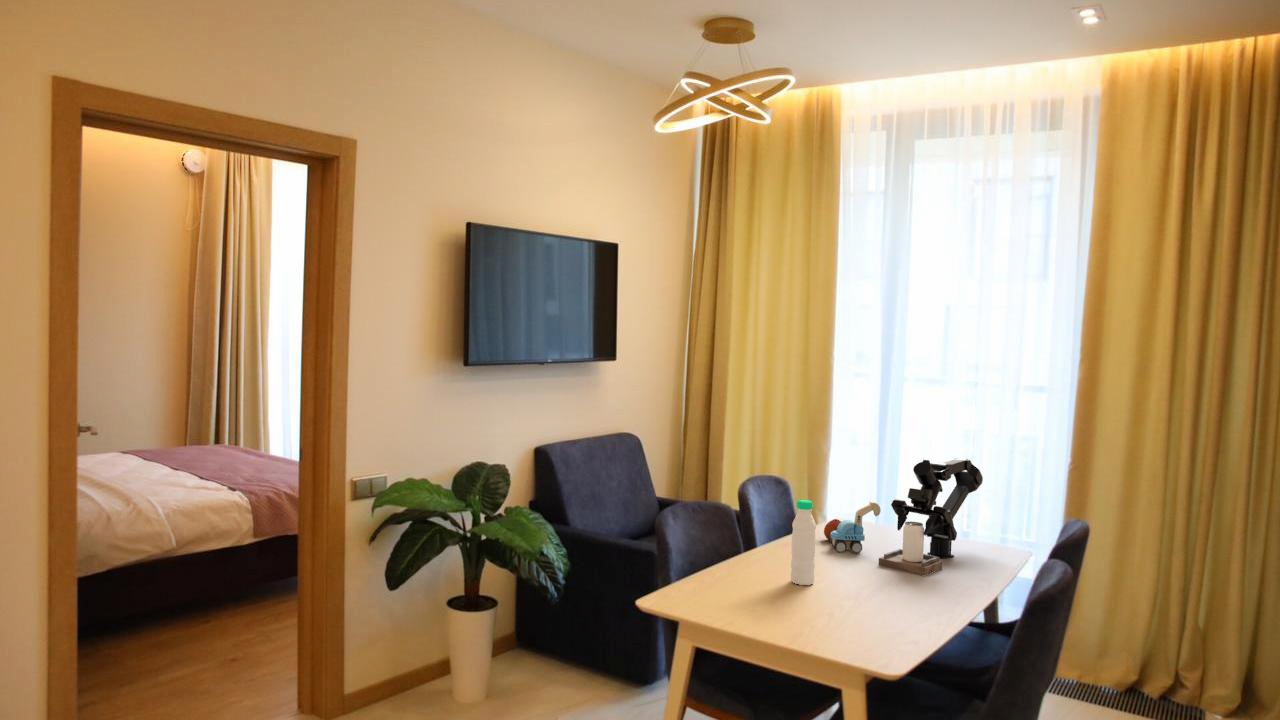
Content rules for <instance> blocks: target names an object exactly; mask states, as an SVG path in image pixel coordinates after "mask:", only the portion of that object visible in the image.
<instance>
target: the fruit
mask: <svg viewBox="0 0 1280 720" xmlns="http://www.w3.org/2000/svg"><path fill="white" fill-rule="evenodd" d="M840 522H842V521H841V520H840V519H837V518H835V519H831V520H830V521H829V522H827V523H826V524H825V526H824V529H823V535H824V537H825V539H827V540H828V541H830V540H831V532H832V531H836V530H837V527H838V525H839V523H840Z"/></svg>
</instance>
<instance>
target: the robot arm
mask: <svg viewBox="0 0 1280 720" xmlns="http://www.w3.org/2000/svg"><path fill="white" fill-rule="evenodd" d="M912 470H913V473H914V475H915V477H916V479H917V482H918V483H919V484H920V485H922V486H921V487H920V489H918V488H912V487H911V488H910V487H909V490H908V493H907V498H908V499H910V504H911V505H908V504H907V502H906V500H901V499H893V500H892V501H891V505H890V506H891V508H892V510H893V512H894V513H895V514H896V516H897V526H896V527H897V531H901V530H902V528H903V527H904V525H905V522H907V519H908V515H909V514H910V513H914V514H919V515H924V516H928V518H927V519H926V521H925V527H924V537H925V536H926V537H928V538H930V543H929V552H927V554H926V555H931V556H936V557H939V559H945V558H944V557H948V558H953V557H952V556H954V557H955V555H954V554H952V541H956V539H957V537H958V535H957V534H958V532H957V530H956V528H955V524H954V518H955V516H956V515H957V513H958V512H959V509H960V508H961V507H962V506H963V505H962V504H964V502H965V500H966V499H967V497H968V496H969V494H971V493H974V492H976V491H977V490H978V489H979V488H980V486H981V485H982V484H983V480H984V479H983V475H982V472H981V470H980V469H979V468H978V467H976V466H975V464H973V463H972V461H971V460H970V459H968V458H964V457H963V458H961V457H957V458H954V459H953V460H947V461H945V462H944V461H943V462H935V461H930V459H923V460H922V461H921V462H918V463H917V464H915V465H914V466H913V469H912ZM952 476H953V477H954V478H955V483H956V485H955V487H954V488H953V490H952V491H951V492H950V494H949V496H948V498H947V499H946V501H945V502H944V503H943V505H942V506H940V505H939V506H937V498H938V495H939V493H943V492H944V491H943V490H944V489H943V487H942V484H941V481H942V482H948V481H949V480H951V478H952Z"/></svg>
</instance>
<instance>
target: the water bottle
mask: <svg viewBox="0 0 1280 720" xmlns="http://www.w3.org/2000/svg"><path fill="white" fill-rule="evenodd" d="M813 507H814V504H813V501H811V500H809V499H807V500H806V499H800V500H797V501H796V510H797V513H796V515H795V518H794V519H793V521H792V524H791V525H792V532H791V533H792V535H791V563H790V568H791V571H790V582H791V583H792V582H793V584H794V583H795V584H794V585H796V584H799V585H798V586H802V585H808V586H811V584H812V585H813V584H814V583H815V566H816V563H815V555H816V554H815V553H816V528H817V525H816V522H815V519H814V516H813V515H812V511H813Z"/></svg>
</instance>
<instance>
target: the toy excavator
mask: <svg viewBox="0 0 1280 720" xmlns="http://www.w3.org/2000/svg"><path fill="white" fill-rule="evenodd" d="M871 512H873V515H874V516H875V517H879V515H880V513H881V507H880V505H879V504H878V503H877V502H876V501H869V504H867V505H864V506H862V507H860V508H859V509H857V510H856V512H855V516H854V522H853V521H852V520H850V519H844V520H842V521H841V522H840V523H839V525H838V527H837V530H836V531H832V532H831V540H829V543H830V545H831V547H833V548H834V550H835V551H836V552H837V553H844V552H846V550H847V551H849V550H850V551H851V552H852V553H855V554H859V553H861V552H862V551H863V544H862V543H861V542H863V541H864V542H865V534H864V527H863V517H864V516H866V515H867V514H869V513H871Z"/></svg>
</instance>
